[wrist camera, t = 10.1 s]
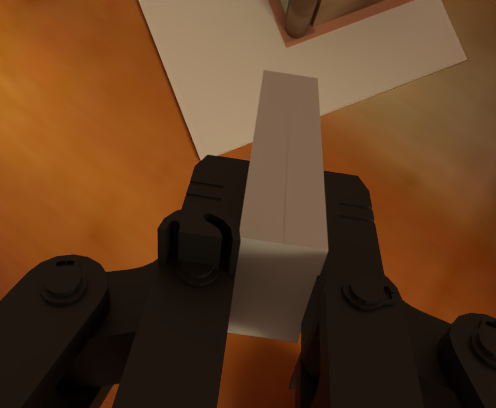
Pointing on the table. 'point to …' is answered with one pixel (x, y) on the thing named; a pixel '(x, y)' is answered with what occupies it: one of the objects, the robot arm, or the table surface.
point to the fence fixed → (319, 13)
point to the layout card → (289, 57)
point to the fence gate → (285, 5)
